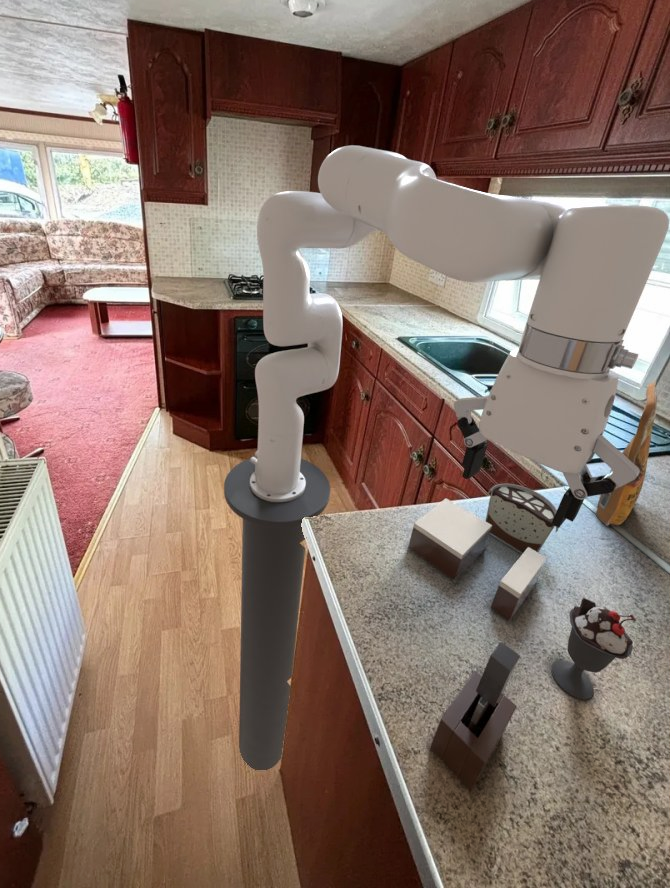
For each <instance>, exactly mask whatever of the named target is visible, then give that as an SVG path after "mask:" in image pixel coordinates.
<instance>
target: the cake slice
mask: <svg viewBox="0 0 670 888" xmlns="http://www.w3.org/2000/svg"><path fill="white" fill-rule="evenodd" d="M547 559H548V557H547V556H545V555H543V554H541V553H540V552H536V551H535V550H533V549H531V548H529V547H528V548H527V549H526V550H525V551H524V553H523V554H521V555H520V556H519V558H518V559H517V560H516V561H515V562H514V564H513V565H512V566H511V567H510V569H509V570H508V571H507V573H505V575H504V576H503V577H502V579H501V580H500V582H499V583H498V587H497V588H496V592H495V594H494V597H493V599H492V602H491V605H490V607H489V608H490V609H492V610H493V611H494V612H496V613H497V614H498V615H499V616H501V617H502V618H504V619H505V620H506V621H508V622H510V621H511V620H512V618H513V617H514V615H515V614H516V612H517V611H518V610H519V608H520V607H521V606H522V604H523V602H524V601H525V600H526V598H527V597H528V596H529V594H530V592H531V591H532V590H533V588H534V587H535V585H536V584H537V582H538V580H539V578H540V575H541V573H542V570H543V568H544V566H545V565H546V561H547Z"/></svg>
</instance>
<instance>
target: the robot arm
mask: <svg viewBox="0 0 670 888" xmlns="http://www.w3.org/2000/svg"><path fill="white" fill-rule="evenodd" d="M317 185H318V190H319V192H314V191H304V190H302V191H301V190H288V191H281V192H277V193H274V194H272V195H270V196H269V197H268V198H267V199H265V201H264V203H263V204H262V206H261V208H260V210H259V213H258V216H257V224H256V238H257V239H256V240H257V245H258V251H259V254H260V259H261V265H262V273H263V275H262V277H263V280H262V281H263V282H262V285H263V286H262V290H263V291H262V294H263V295H262V297H263V298H262V321H263V324H262V325H263V334H264V336H265V339H266V340H267V342H268V343H269V344H271V345H273V346H277V347H290V346H299V345H306V344H307V346H306V347H300V348H293V349H287V350H281V351H276V352H273V353H268V354H267V355H265V356H263V357H262V358H260V360H258V362H257V363H256V366H255V369H254V378H255V385H256V391H257V392H256V393H257V400H258V429H257V449H256V450H255V452H254V456H252V457H250V458H251V459H250V462H252V463H253V464H255V472H253V474H252V475H251V477H250V488H251V490H252V492H253V493H254V494H255V495H256V496H258V497H259V498H261V499H264V500H266V501H270V502H288V501H291V500H294V499H296V498H298V497H299V496H300V495H301V494H302V493H303V492H304V490H305V485H306V481H305V478H304V476H303V475H302V473H301V472H300V462H301V459H302V448H303V439H304V426H305V425H304V424H305V415H304V412H303V410H302V408H301V407H300V405H298V403H297V399H298V398H300V397H303V396H306V395H311V394H314V393H319V392H323V391H326V390H329V389H330V388H332V387H333V386H334V385H335V383H336V382H337V380H338V377H339V371H340V364H341V363H340V362H341V350H342V340H343V326H344V325H343V323H344V322H343V321H344V320H343V314H342V310H341V307H340V305H339V303H338V301H337V300H336V299H335V298H334V297H333V296H331V294H327V293H323V292H313V293H310V291H311V290H310V289H311V288H310V287H311V286H310V284H311V272H310V266H309V264H308V262H307V259H306V258H305V256H304V254H303V252H302V251H301V250H300V249H337V250H338V249H346V248H351V247H353V246H355V245H357V244H358V243H360V242H362V241H363V240H365V239H366V238H368V237H369V236H370V235H372V234H374V233H375V232H377V231H380V232H382V233H384V234H386V235H387V237H388V238H389V241H390V242H391V243H392V245H393V246H394V248H395V249H396V250H397V251H398V252H399V253H400V254H401V255H403V256H405V257H406V258H409V259H410V260H412V261H414V262H416V263H418V264H420V265H422V266H425V267H426V268H428V269H430V270H433V271H435V272H436V273H439V274H441V275H444V276H445V277H448V278H451V279H454V280H457V281H461V282H467V283H487V282H489V283H490V282H501V281H523V280H529V281H530V280H538V284H537V288H536V290H535V294H534V298H533V300H532V304H531V307H530V310H529V312H528V315H527V316H528V317H527V319H526V323H525V326H524V329H523V333H522V335H521V339H520V342H519V345H518V347H517V348H514V349H513V350H511V351H510V352H509V354H508V355H507V357H506V359H505V360H504V362H503V364H502V366H501V368H500V370H499V371H498V374H497V376H496V378H495V380H494V383H493V384H492V387H491V389H490V392H489V393H488V395H484V396H474V397H461V398H459V399H457V400H456V401H454V402H453V407H454V412H455V416H456V418H457V422H456V425H457V427H458V429H459V431H460V432H461V434H462V436H463V438H464V439H463V444H464V445H465V447H466V448H465V452H464V455H463V458H462V462H461V466H462V467H464V469H463V472H462V475H461V478H463V479H465V480H470V479H471V478H472V477H474V476H475V475H476V474H478V473H479V472H480V470H481V468H482V465H483V462H484V459H485V455H486V452H487V449H488V442H487V441H489V442H492V444H495V445H497V446H500V447H502V448H504V449H506V450H508V451H511V452H513V453H515V454H518V455H520V456H522V457H524V458H526V459H529V460H531V461H533V462H536V463H538V464H540V465H542V466H544V467H547V468H549V469H552V470H554V471H557V472H559V473H561V474H563V476H564V479H565V481H566V483H567V485H568V487H569V488H568V489H567V490H566V491H565V492H564V494H563V496H562V498H561V500H560V502H559V504H558V507H557V508H556V509H557V512H556V514H555V516H554V519H553V521H552V523H553V525H554V526H555V528H556V527H558V529H560V527H561V526H562V525H563V523H564V522H565V521H566V520H568V521H570V522H572V523H573V522H574V520H575V519H576V517H577V515H579V511H580V510H581V507H582V505H583V503H584V501H585V500H586V499H587V498H588V497H590V498H591V497H594V496H599V495H600V496H601V494H606V493H611V492H613V491H614V490H615V489H617V488H619V487H621V486H623V485H625V484H627V483H629V482H631V481H633V480H635V479H636V478H637V476H638V474H639V472H640V470H639V468H638V467H637V466H636V465H635V464H634V463H632V462H631V461H630V460H629V459H628V458H627V457H626V456H625V455H624V454H622V452H621V451H620V450H619V449H618V448H617V447H616V446H615V445H614V444H613V443H611V442H610V440H608V439H607V438H606V437H605V436H604V432H605V430H606V427H607V424H608V422H609V419H610V415H611V412H612V409H613V406H614V402H615V399H616V394H617V389H618V383H619V375H618V374H617V373H616V372H615V371H613V369H615V368H626V369H629V370H632V369H633V368H634V366H635V365H636V362H637V361H638V357H639V353H636V352H631V351H629V349H626V348H625V345H623V343H624V337H625V334H626V332H627V330H628V326H629V324H630V323H631V320H632V318H633V315H634V313H635V310H636V308H637V307H638V304H639V301H640V299H641V296H642V294H643V293H644V290H645V287H646V284H647V282H648V280H649V278H650V275H651V273H652V270H653V268H654V266H655V264H656V261H657V258H658V256H659V254H660V251H661V249H662V247H663V245H664V242H665V240H666V236H667V234H668V231H669V226H670V219H669V215H668V214H667V213H666V212H665V211H664V210H661V209H660V208H657V207H653V206H648V205H637V204H625V203H623V204H621V203H600V202H599V203H598V202H597V203H596V202H595V203H594V202H593V203H592V202H591V203H579V204H577V205H573V206H570V205H565V204H560V203H555V202H551V201H545V200H539V199H533V198H532V199H531V198H526V197H525V198H524V197H517V196H513V195H512V196H511V195H503V194H495V193H489V192H483V191H479V190H475V189H471V188H468V187H464V186H461V185H458V184H454V183H451V182H447V181H444V180H440V179H438V178H437V175H436V173H435V171H434V169H433V168H432V167H431V166H430V165H428V164H427V163H424V162H421V161H417V160H412V159H410V158H407V157H405V156H404V155H403V154H400V153H398V152H393V151H389V150H385V149H384V150H383V149H378V148H373V147H367V146H362V145H355V144H354V145H353V144H351V145H344V146H341V147H338V148H336V149H335V150H332V151H331V153H329V154H328V155H327V156H325V158H324V160H322V163H321V165H320V167H319V170H318V175H317ZM611 369H612V370H611ZM479 410H482V412H481V416H480V419H479V424H478V425H477V423H476V421H475V419H474V418H473V416H472V411H479ZM595 455H596V456H597V457H598V458H599V459H600V460H601V461H603V463H605V464H606V465H607V466H608V468H610V469H612V472H611V473H610V472H609V473H608V474H602V475H597V476H593V475H592V473H591V471H590V469H589V467H588V465H587V463H589V462H591V461H592V459H593V458H594V456H595ZM255 457H257V459H256V458H255Z"/></svg>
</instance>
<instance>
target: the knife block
mask: <svg viewBox="0 0 670 888" xmlns="http://www.w3.org/2000/svg"><path fill="white" fill-rule="evenodd" d="M481 677H482V675H481V673H479V672H478V671H476V670H474V671H473V672H472V674H471V675H470V676H469V678H468V679H467V681H466V682H465V683H464V685H463V687H462V688H461V689H460V691H459V692H458V693H457V695H456V697H455V698H454V700H453V701H452V703H451V704H450V705H449V706H448V708H447V709H446V711H445V712H444V713H443V716H442V717H440V719H439V723H438V726H437V728H436V731H435V734H434V736H433V738H432V742H431V744H430V746H429V749H430V751H432V752H433V754H434V755H435V756H436V757H437V758H438V759H439V760H440V761H441V762H442V763H443V764H444V765H445V766H446V768H447V769H448V770H450V772H451V773H452V774H453V775H454V776H455V777H456V778H457V779H458V780H459V781H460V782H461V784H463V786H465V788H466V789H467V790H468V791H469V792H470V793H471V792H473V790H474V788H475V787H476V784H477V782H478V780H479V778H480V777H481V775H482V773H483V771H484V769H485V768H486V766H487V764H488V763H489V760H490V759H491V757H492V756H493V753H494V752H495V750H496V748H497V746H498V744H499V742H500V740H501V739H502V737H503V736H504V733H505V731H506V729H507V727H508V725H509V724H510V721H511V719H512V717H513V715H514V713H515V712H516V710H517V707H518V706H517V704H515V703H514V702H513V701H512V700H511V699H509V698H508V697H507V696H505V695H504V693H502V695H501V697H500V698H499V700H498V702H497V703H496V705H495V707H493V706H492V705H491V704H490V705H489V707H488V709H487V712H486V714H485V716H484V718H483V720H482V723H481V725H480V727H479V729H480V730H481V732H480V734H479V736H478V737H477V736H476V735H474V734H473V733H472V732H471V731H470V730H469V729H468V726H466V724H467V722H468V720H470V721H471V718H472V716H473V714H474V712H475V709H476V707H477V705H478V702H479V701H480V699H481V698H482V696H481V695H480V694H479V693H477V692H476V689H477V687H478V684H479V682H480V680H481Z"/></svg>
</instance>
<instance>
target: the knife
mask: <svg viewBox="0 0 670 888" xmlns="http://www.w3.org/2000/svg"><path fill="white" fill-rule="evenodd" d="M520 657H521V655H520V654H519V653H517V652H516V651H515V650H513V649H512V648H510V647H509V646H508V645H506V643H505V642H503V641H501V640H500V641H499V643H498V644H497V645H496V646H495V648H494V650H493V651H492V653H490V656H489V658H488V661H487V663H486V665H485V668H484V670H483V673H482V675H481V676H482V677H481V680H480V682H479V684H478V687H477V689H476V692H477V693H479V694H480V695H481V696H482V698H481V699H480V701H479V702H478V705H477V707H476V709H475V712H474V714H473V716H472V718H471V720H470V721H469V723H468V726H467V728H468V729H469V730H470V731H471V732H472V733H473V734H474V735H475V736H476V735H477V733H478V731H479V729H480V728H479V727H480V725H481V723H482V720H483V718H484V716H485V714H486V712H487V709H488V707H489V705H490V704H491V705H492V706H493V707H495V705H496V703H497V702H498V700H499V698H500V697H501V695H502V694H504V692H505V690H506V688H507V686H508V684H509V681H510V679H511V677H512V674H513V673H514V671H515V668H516V666H517V664H518V662H519V660H520Z"/></svg>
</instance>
